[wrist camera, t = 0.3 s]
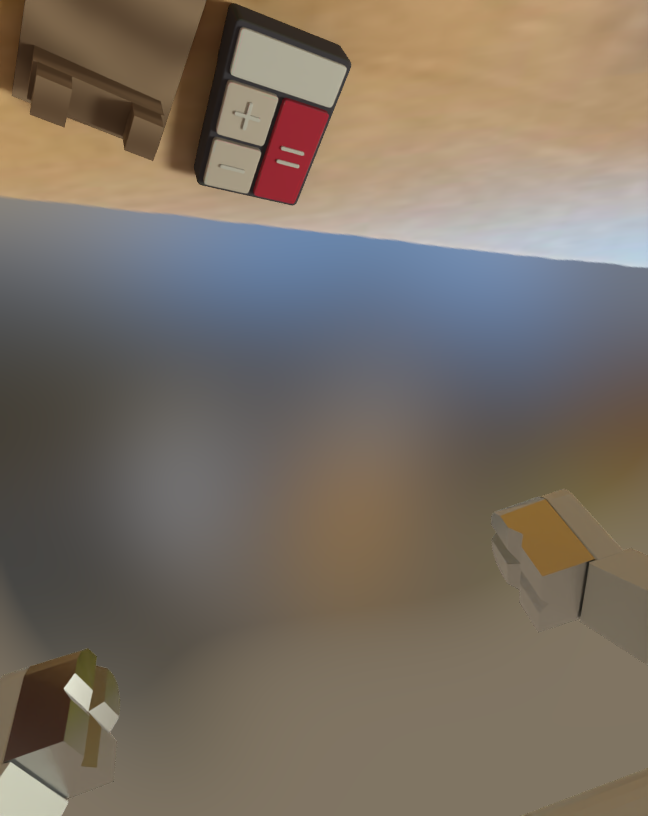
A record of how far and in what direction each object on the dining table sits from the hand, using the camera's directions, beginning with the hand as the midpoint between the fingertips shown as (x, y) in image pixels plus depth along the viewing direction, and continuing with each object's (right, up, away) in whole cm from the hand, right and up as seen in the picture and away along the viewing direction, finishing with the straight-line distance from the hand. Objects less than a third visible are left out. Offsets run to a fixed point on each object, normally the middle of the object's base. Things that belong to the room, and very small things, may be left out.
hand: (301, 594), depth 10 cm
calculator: (-6, +33, +42) cm, 54 cm away
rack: (-16, +36, +31) cm, 51 cm away
